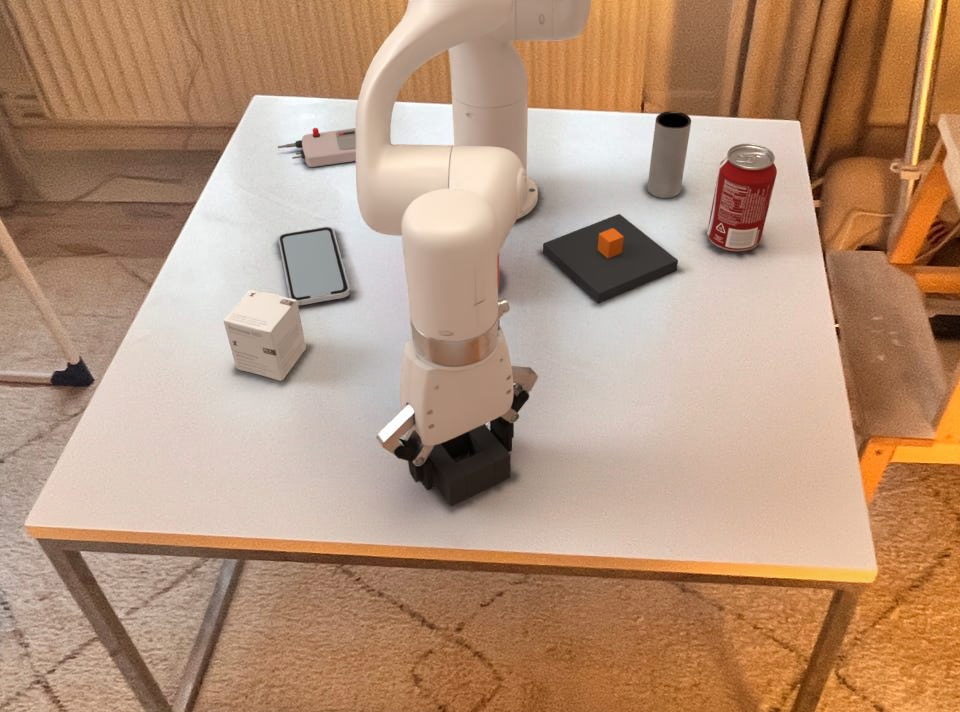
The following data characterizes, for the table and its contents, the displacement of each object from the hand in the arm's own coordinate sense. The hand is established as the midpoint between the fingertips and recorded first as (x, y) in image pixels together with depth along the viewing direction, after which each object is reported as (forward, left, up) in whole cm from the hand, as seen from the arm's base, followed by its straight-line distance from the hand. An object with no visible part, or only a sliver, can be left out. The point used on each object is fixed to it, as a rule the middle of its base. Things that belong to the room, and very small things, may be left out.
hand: (462, 461), depth 93 cm
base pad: (-20, +33, -1) cm, 39 cm away
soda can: (-15, +49, -1) cm, 51 cm away
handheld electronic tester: (-63, +15, -1) cm, 65 cm away
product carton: (-26, -10, -1) cm, 28 cm away
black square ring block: (0, 0, -1) cm, 1 cm away
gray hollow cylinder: (-29, +49, -1) cm, 57 cm away
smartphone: (-39, +1, -1) cm, 39 cm away
